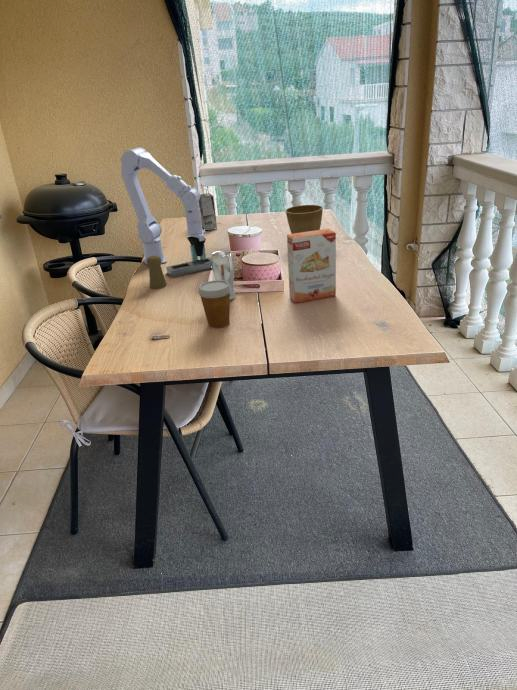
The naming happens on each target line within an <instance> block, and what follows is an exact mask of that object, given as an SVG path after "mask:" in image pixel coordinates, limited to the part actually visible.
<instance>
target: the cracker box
mask: <svg viewBox="0 0 517 690" xmlns="http://www.w3.org/2000/svg"><path fill="white" fill-rule="evenodd" d="M336 240H337V233H336V231H334V230H331V229H330V228H324V229H320V230H315V231H308V232H301V233H294V234H291V233H289V234H286V241H287V264H288V265H287V266H288V286H289V287H288V289H289V298H290V299H291V300H292V301H293V302H294V303H295V304H297V303H303V302H309V301H314V300H321V299H326V298H332V297H335V296H336V295H337V294H336V293H337V291H336V290H337V284H336V283H337V280H336V279H337V277H336V276H337V271H336V270H337V267H336V266H337V261H336V260H337V258H336V257H337V241H336Z"/></svg>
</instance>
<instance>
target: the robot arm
mask: <svg viewBox="0 0 517 690" xmlns="http://www.w3.org/2000/svg"><path fill="white" fill-rule="evenodd" d="M119 159H120V162H121V168H120V169H121V171H120V172H121V173H120V175H121V178H122V180H123V183H124V187H125V189H126V192H127V194H128V196H129V199H130V201H131V204H132V206H133V210H134V212H135V215H136V217H137V225H136V227H137V230H138V234H137V235H138V238H139V239H140V240H141V242H142V251H143V256H144V259H142V261H143V262H144V263H145V264H146V265H147V258H148V257H150V256H159V257H160V258H161V261H162V262H161V264H165V263H168V260H167V259H165V257H164V253H163V252H164V251H163V246H162V241H161V240H162V239H161V234H162V227H161V225H160V224H159V223H158V222H157V219H156V218H155V217H154V216H153V215H152V213H151V210H150V208H149V205H148V202H147V200H146V197H145V195H144V193H143V192H144V191H143V189H142V187H141V184H140V182H139V178H138V173H139V171H140V169H145V170H149V171H150V172H152V173H153V174H154V175H156V176H157V177H158V178H160V179H161V180H162V181H164V182H165V186H166V188H167V189H168V190H170V192H172V193H173V194H175V196H177V197H178V198H179V199H180V201H181V204H182V205H183V206H184V213H185V220H186V226H187V227H186V228H187V229H186V230H187V231H186V232H187V235H188V236H187V240H188V242H189V244H190V245H194V248H195V251H196V254H197V256H198V257H200V256H202V255H203V247H204V245H205V243H206V240H207V239H206V238H205V235H204V234H205V233H206V232H207V231H205V230H204V229H203V228H202V222H201V215H200V208H199V202H198V201H199V199H200V195H201V193H200V192H199V190H198V189H197V188H196V187H192V186H191V184H187V183H186V182H185V181H184V180H183V179H182V177H181V176H180V175H177V174H171V173H170V172H169V171H168V170H167V169H165V168H164V167H163V165H161V164H160V163H159V162H158V161H157V160H156V159H155V158H154V157H153V156H152V154H151V153H150V152H148V151H146V149H144V148H143V147H140V146H138V147H135V148H132V149H128V150H126V151H124V152H123V154H122V155H121V157H120V158H119Z"/></svg>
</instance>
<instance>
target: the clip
mask: <svg viewBox="0 0 517 690" xmlns="http://www.w3.org/2000/svg"><path fill="white" fill-rule="evenodd" d="M189 248H190V253H191V259H192V261H196V260H200V259H205V258H207V256H206V255H207V254H206V247H205V244H204V247H203V255H202V256H197V254H196V251H195V248H194V245H191V244H190V245H189Z"/></svg>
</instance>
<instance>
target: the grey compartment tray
mask: <svg viewBox="0 0 517 690" xmlns="http://www.w3.org/2000/svg"><path fill="white" fill-rule="evenodd" d="M211 266H212V257H206V258H205V259H200V258H199V259H198V260H196V261H187V262H183V263H178V264H173V265H169V266H166V273H167V274H168V275H169V276H170V277H171V278H174V277H175V278H176V277H180V276H184V275H188V274H193V273H197V272H201V271H206V270H211V269H212V268H211ZM210 268H211V269H210Z"/></svg>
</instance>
